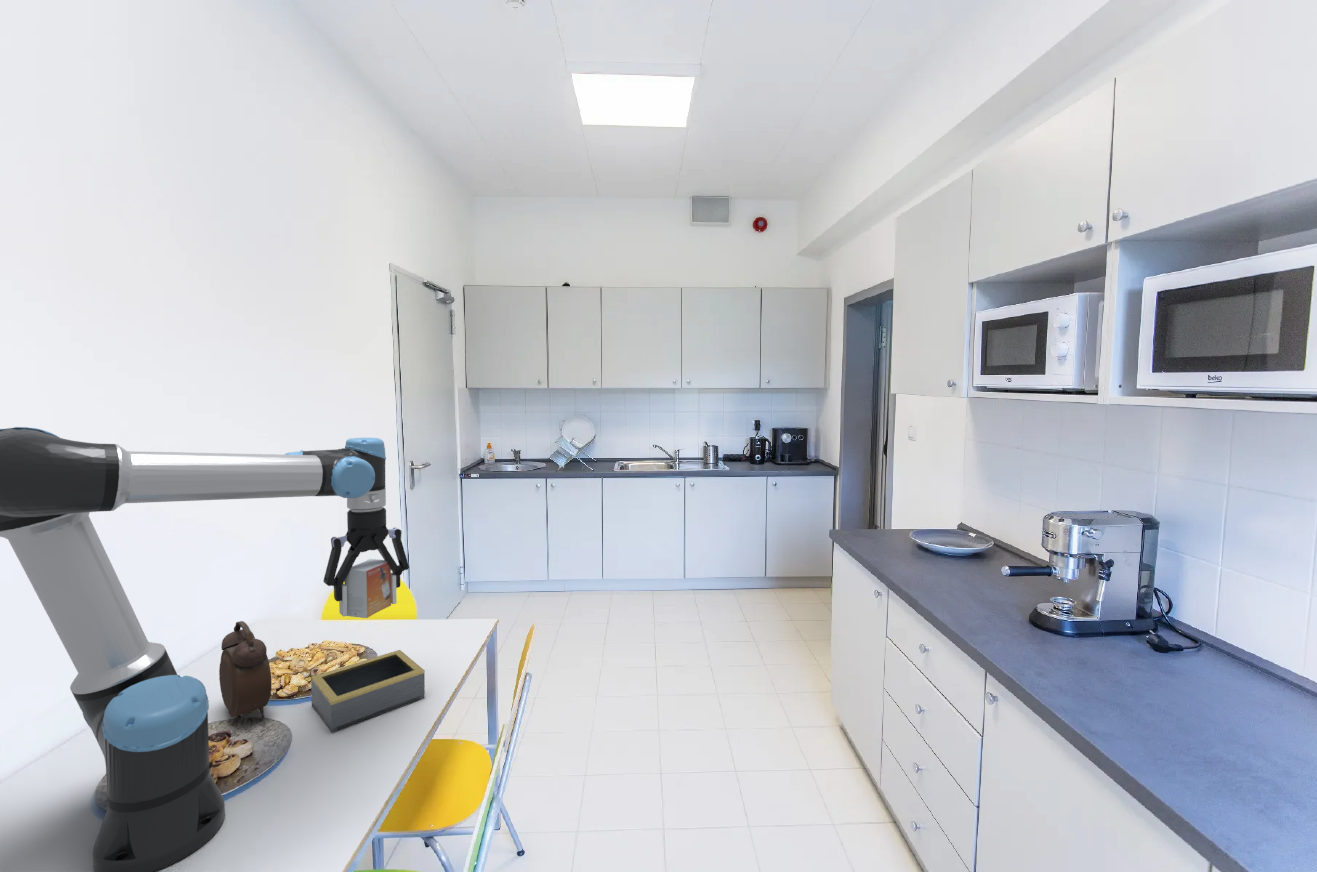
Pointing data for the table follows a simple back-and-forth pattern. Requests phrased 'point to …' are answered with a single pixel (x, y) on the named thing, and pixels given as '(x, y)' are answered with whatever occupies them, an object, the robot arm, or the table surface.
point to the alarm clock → (244, 673)
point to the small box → (368, 588)
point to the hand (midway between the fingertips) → (368, 608)
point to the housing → (366, 689)
